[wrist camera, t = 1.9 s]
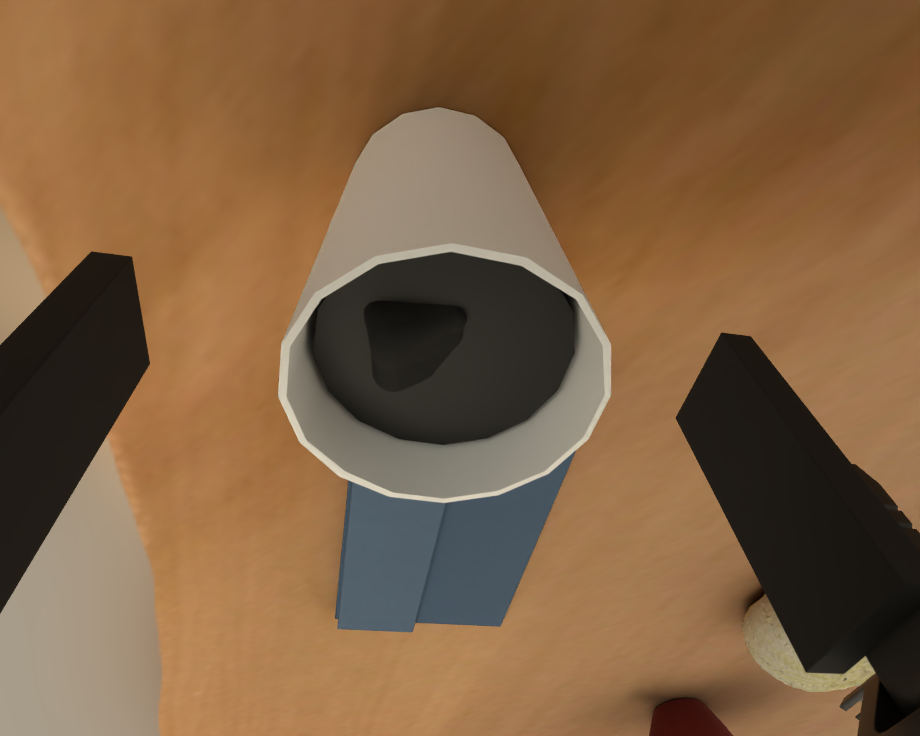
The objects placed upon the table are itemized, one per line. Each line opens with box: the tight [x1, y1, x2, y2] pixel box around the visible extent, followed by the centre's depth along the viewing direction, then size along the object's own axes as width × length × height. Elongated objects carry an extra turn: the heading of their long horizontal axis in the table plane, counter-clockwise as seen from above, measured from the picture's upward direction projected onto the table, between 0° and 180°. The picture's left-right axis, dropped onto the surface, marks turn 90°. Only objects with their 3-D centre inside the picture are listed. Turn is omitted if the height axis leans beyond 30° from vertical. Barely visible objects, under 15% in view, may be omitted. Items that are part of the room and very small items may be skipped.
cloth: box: [335, 451, 576, 632], centre depth 29 cm, size 20×10×1 cm, turn 170°
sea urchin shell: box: [742, 594, 875, 692], centre depth 35 cm, size 9×8×8 cm
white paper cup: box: [278, 107, 611, 503], centre depth 16 cm, size 7×7×10 cm
